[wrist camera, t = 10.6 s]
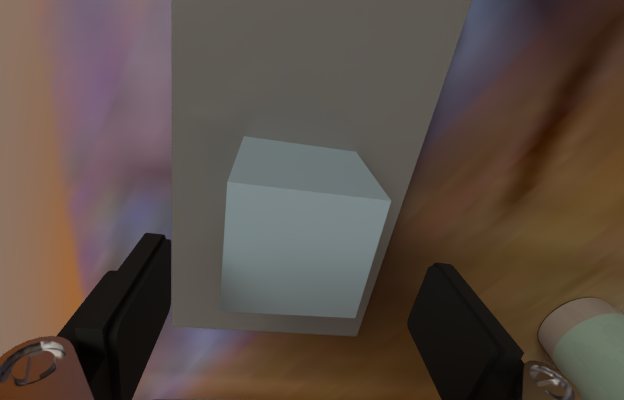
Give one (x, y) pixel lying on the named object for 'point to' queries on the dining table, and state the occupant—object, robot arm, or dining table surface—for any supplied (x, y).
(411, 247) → the dining table surface
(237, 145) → the board
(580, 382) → the coffee cup
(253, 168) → the cube
